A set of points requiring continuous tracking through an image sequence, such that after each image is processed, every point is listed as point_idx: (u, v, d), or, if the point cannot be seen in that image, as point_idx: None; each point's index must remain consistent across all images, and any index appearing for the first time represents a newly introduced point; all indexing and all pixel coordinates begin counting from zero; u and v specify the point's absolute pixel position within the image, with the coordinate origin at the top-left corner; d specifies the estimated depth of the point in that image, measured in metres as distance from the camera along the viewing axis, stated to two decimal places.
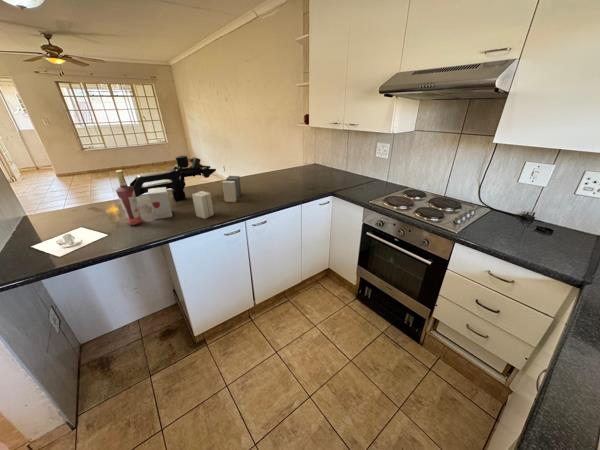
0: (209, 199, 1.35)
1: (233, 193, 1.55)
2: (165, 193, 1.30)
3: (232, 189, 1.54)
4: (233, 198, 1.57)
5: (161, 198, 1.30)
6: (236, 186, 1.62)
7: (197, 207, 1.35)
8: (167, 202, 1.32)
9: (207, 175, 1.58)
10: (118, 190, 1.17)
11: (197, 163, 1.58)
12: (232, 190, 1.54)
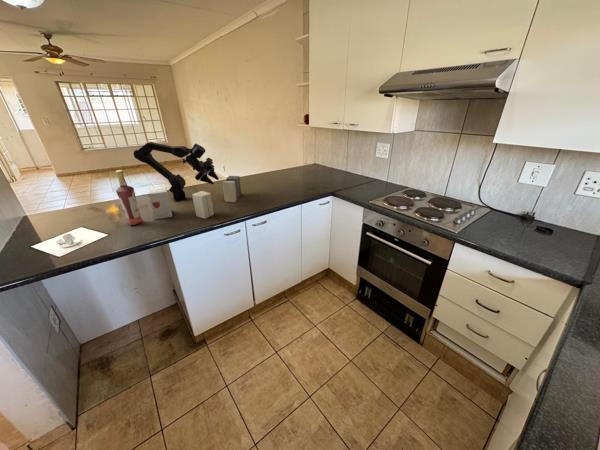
0: (209, 199, 1.35)
1: (233, 193, 1.55)
2: (165, 193, 1.30)
3: (232, 189, 1.54)
4: (233, 198, 1.57)
5: (161, 198, 1.30)
6: (236, 186, 1.62)
7: (197, 207, 1.35)
8: (167, 202, 1.32)
9: (197, 178, 1.44)
10: (118, 190, 1.17)
11: (205, 164, 1.47)
12: (232, 190, 1.54)
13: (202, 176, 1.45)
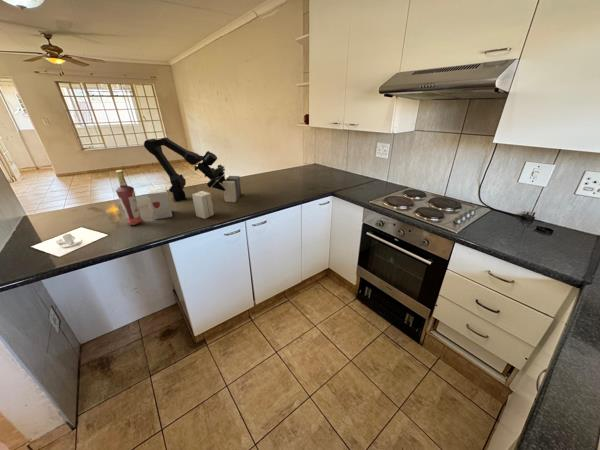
0: (209, 199, 1.35)
1: (233, 193, 1.55)
2: (165, 193, 1.30)
3: (232, 189, 1.54)
4: (233, 198, 1.57)
5: (161, 198, 1.30)
6: (236, 186, 1.62)
7: (197, 207, 1.35)
8: (167, 202, 1.32)
9: (210, 185, 1.46)
10: (118, 190, 1.17)
11: (217, 171, 1.49)
12: (232, 190, 1.54)
13: (214, 183, 1.47)
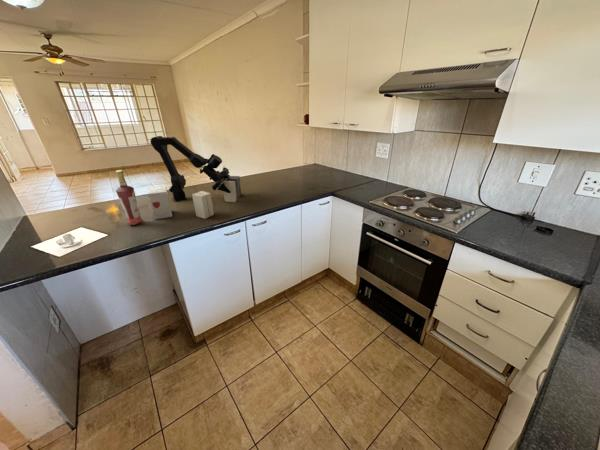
0: (209, 199, 1.35)
1: (233, 193, 1.55)
2: (165, 193, 1.30)
3: (232, 189, 1.54)
4: (233, 198, 1.57)
5: (161, 198, 1.30)
6: (236, 186, 1.62)
7: (197, 207, 1.35)
8: (167, 202, 1.32)
9: (214, 188, 1.46)
10: (118, 190, 1.17)
11: (222, 174, 1.49)
12: (232, 190, 1.55)
13: (220, 185, 1.48)
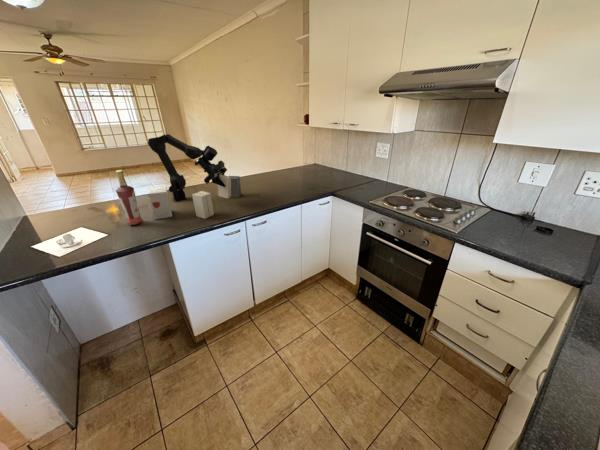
0: (209, 199, 1.35)
1: (227, 189, 1.47)
2: (165, 193, 1.30)
3: (226, 184, 1.46)
4: (226, 194, 1.49)
5: (161, 198, 1.30)
6: (236, 186, 1.62)
7: (197, 207, 1.35)
8: (167, 202, 1.32)
9: (206, 181, 1.39)
10: (118, 190, 1.17)
11: (216, 167, 1.42)
12: (226, 185, 1.47)
13: (214, 178, 1.42)
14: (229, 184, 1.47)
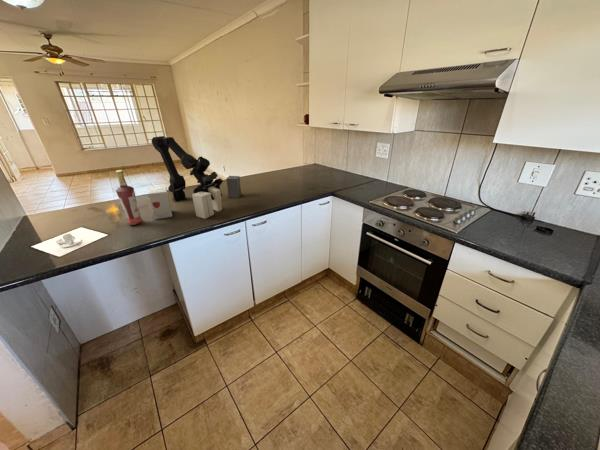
0: (209, 199, 1.35)
1: (216, 202, 1.42)
2: (165, 193, 1.30)
3: (215, 198, 1.40)
4: (216, 207, 1.43)
5: (161, 198, 1.30)
6: (236, 186, 1.62)
7: (197, 207, 1.35)
8: (167, 202, 1.32)
9: None
10: (118, 190, 1.17)
11: (206, 179, 1.38)
12: (215, 198, 1.41)
13: (202, 190, 1.37)
14: (218, 197, 1.41)
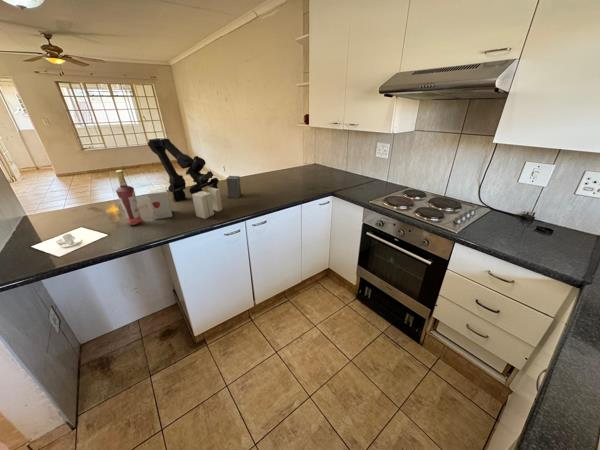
0: (209, 199, 1.35)
1: (216, 202, 1.42)
2: (165, 193, 1.30)
3: (215, 197, 1.41)
4: (216, 207, 1.44)
5: (161, 198, 1.30)
6: (236, 186, 1.62)
7: (197, 207, 1.35)
8: (167, 202, 1.32)
9: (191, 192, 1.38)
10: (118, 190, 1.17)
11: (202, 178, 1.39)
12: (215, 198, 1.41)
13: (195, 190, 1.38)
14: (218, 197, 1.41)
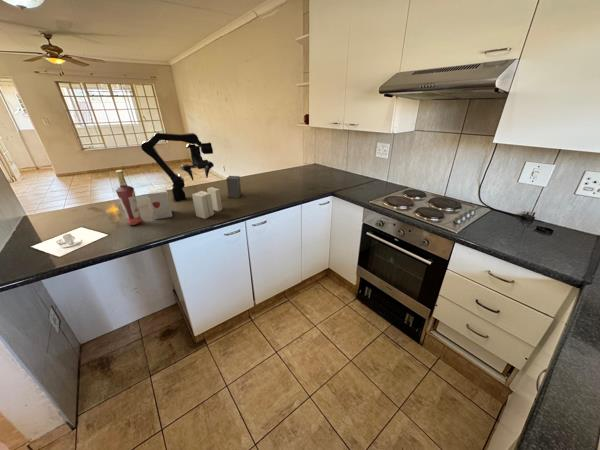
0: (209, 199, 1.35)
1: (216, 202, 1.42)
2: (165, 193, 1.30)
3: (215, 197, 1.41)
4: (216, 207, 1.44)
5: (161, 198, 1.30)
6: (236, 186, 1.62)
7: (197, 207, 1.35)
8: (167, 202, 1.32)
9: (182, 168, 1.52)
10: (118, 190, 1.17)
11: (196, 164, 1.51)
12: (215, 198, 1.41)
13: (185, 170, 1.52)
14: (218, 197, 1.41)
